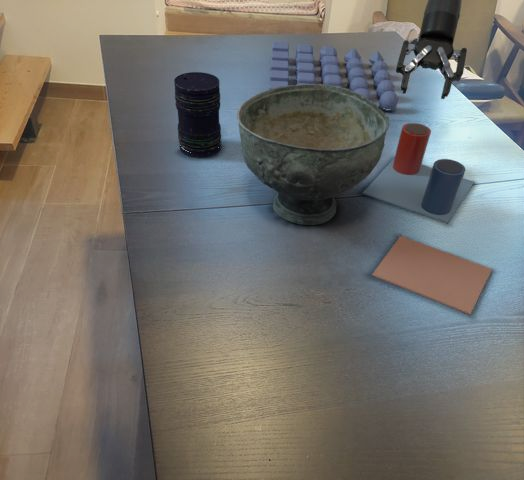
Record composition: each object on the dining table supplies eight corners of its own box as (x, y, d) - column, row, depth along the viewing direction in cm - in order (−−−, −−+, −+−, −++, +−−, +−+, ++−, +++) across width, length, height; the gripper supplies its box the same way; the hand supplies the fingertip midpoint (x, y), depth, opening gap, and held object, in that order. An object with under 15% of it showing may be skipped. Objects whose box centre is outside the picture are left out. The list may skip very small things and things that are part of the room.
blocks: (271, 58, 159) (272, 41, 156) (381, 65, 160) (385, 48, 156) (268, 107, 136) (269, 87, 132) (396, 115, 136) (401, 95, 133)
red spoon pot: (423, 166, 118) (435, 127, 111) (414, 178, 114) (425, 138, 107) (398, 158, 120) (408, 119, 113) (388, 169, 116) (398, 130, 109)
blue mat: (473, 183, 115) (474, 181, 114) (447, 223, 103) (448, 222, 103) (395, 158, 121) (395, 156, 120) (362, 194, 110) (362, 192, 109)
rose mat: (491, 270, 94) (492, 269, 94) (469, 315, 86) (470, 313, 86) (400, 237, 100) (400, 235, 99) (371, 275, 92) (372, 274, 91)
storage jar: (228, 144, 122) (228, 77, 110) (208, 162, 116) (206, 94, 104) (192, 134, 124) (188, 68, 113) (171, 151, 118) (164, 83, 107)
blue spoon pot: (454, 204, 108) (469, 164, 101) (445, 218, 104) (460, 177, 97) (426, 195, 110) (439, 155, 103) (416, 208, 106) (429, 168, 99)
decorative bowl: (392, 200, 107) (412, 103, 92) (333, 264, 93) (346, 162, 78) (286, 165, 117) (289, 72, 102) (218, 218, 103) (210, 119, 88)
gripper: (469, 34, 114) (452, 106, 116) (405, 26, 116) (389, 97, 118) (478, 13, 107) (460, 91, 108) (410, 5, 109) (393, 82, 110)
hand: (423, 94), depth 113 cm, fingers open, 8 cm apart
